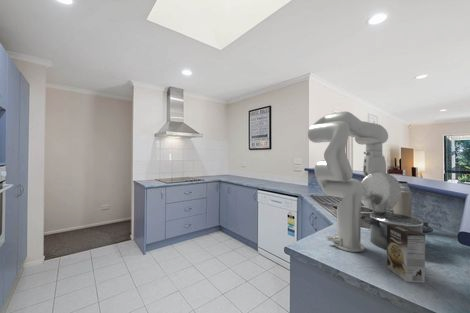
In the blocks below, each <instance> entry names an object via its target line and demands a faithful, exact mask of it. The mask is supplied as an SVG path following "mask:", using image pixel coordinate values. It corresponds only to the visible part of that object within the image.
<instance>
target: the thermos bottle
mask: <svg viewBox="0 0 470 313" xmlns="http://www.w3.org/2000/svg"><path fill="white" fill-rule="evenodd" d="M397 181H398V182H399V184H400V187H401V196H400V199H399V201H398V203H397V204H396V205H395V206H394V207H393V214H399V215H405V216H409V217H412V191H411V189H410V187H409V185H408V181H404V180H403V181H402V180H400V181H399V180H397Z"/></svg>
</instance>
